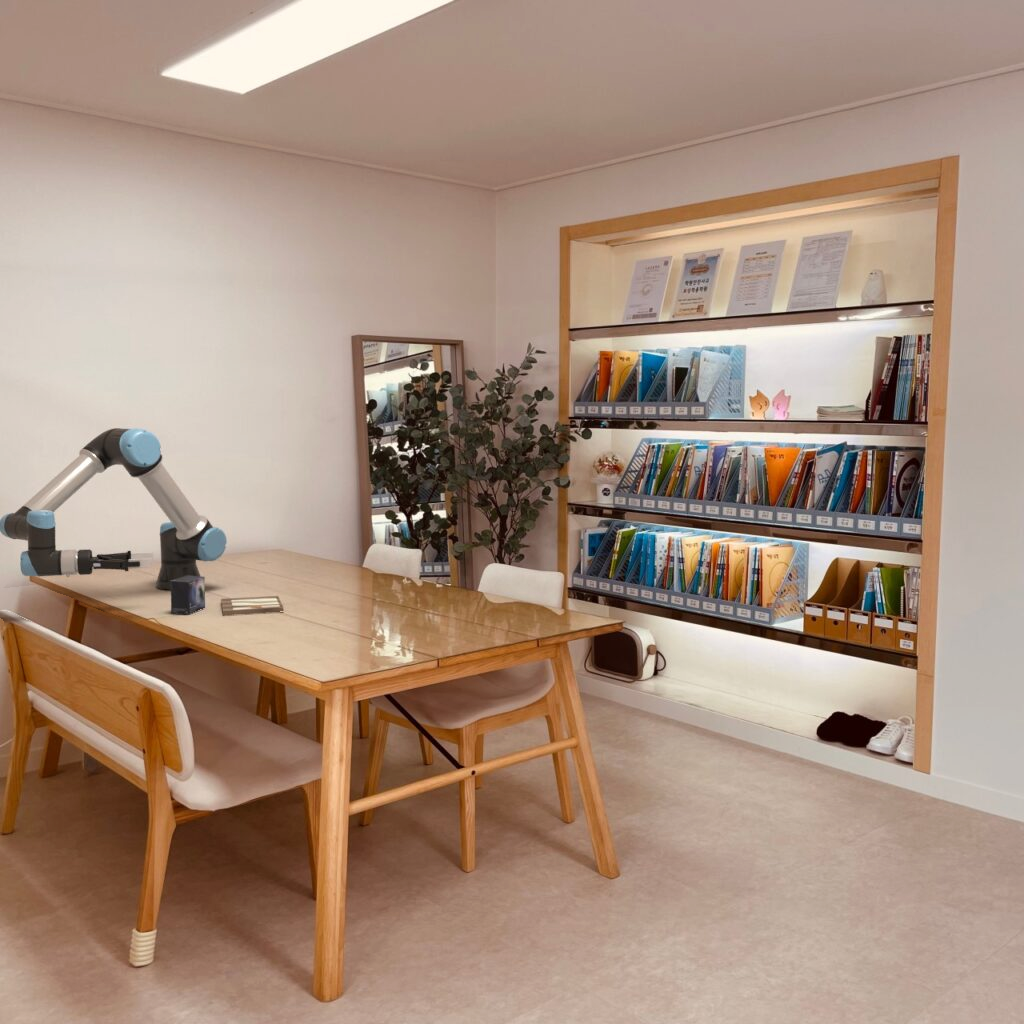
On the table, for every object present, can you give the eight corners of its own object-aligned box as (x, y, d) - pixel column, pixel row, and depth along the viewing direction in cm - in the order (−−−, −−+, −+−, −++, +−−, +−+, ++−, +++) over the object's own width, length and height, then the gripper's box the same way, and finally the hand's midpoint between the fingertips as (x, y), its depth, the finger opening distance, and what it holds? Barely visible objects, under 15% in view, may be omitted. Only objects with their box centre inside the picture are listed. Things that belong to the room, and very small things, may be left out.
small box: (189, 615, 319) (188, 581, 318) (170, 614, 321) (169, 580, 320) (206, 608, 330) (205, 575, 329) (187, 607, 331) (186, 574, 330)
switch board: (221, 603, 338) (220, 597, 337) (278, 600, 343) (278, 594, 343) (223, 615, 319) (223, 609, 318) (283, 612, 324) (283, 606, 324)
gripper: (82, 568, 326) (154, 566, 332) (73, 581, 303) (151, 578, 309) (81, 544, 325) (153, 542, 332) (73, 555, 302) (151, 553, 308)
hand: (152, 559), depth 320 cm, fingers open, 13 cm apart
